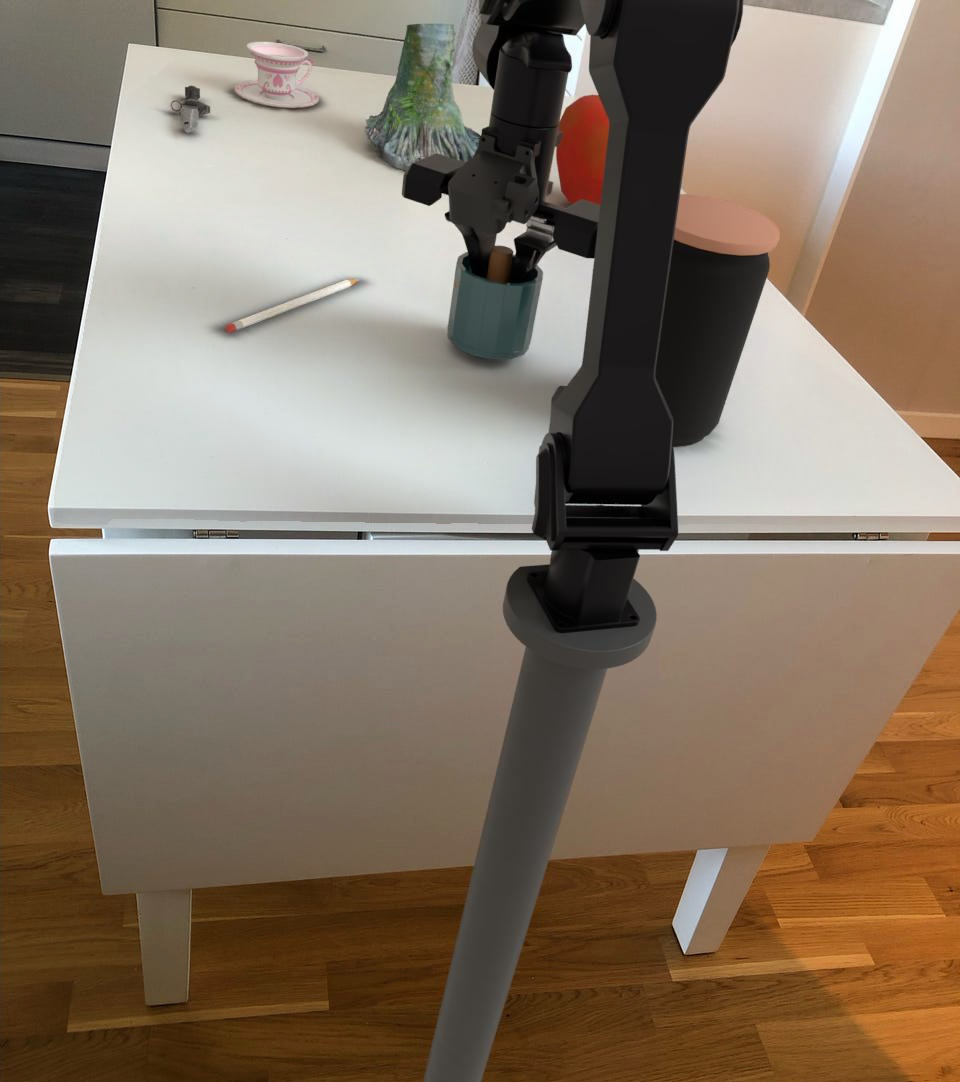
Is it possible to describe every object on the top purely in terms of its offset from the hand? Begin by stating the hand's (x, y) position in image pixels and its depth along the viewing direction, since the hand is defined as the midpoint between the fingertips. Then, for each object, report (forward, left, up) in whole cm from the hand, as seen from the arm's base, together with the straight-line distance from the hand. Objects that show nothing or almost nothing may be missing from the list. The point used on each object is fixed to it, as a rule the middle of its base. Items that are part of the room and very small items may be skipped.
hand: (495, 299), depth 98 cm
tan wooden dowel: (0, 0, -3) cm, 3 cm away
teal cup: (0, 0, -4) cm, 4 cm away
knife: (+66, +20, -6) cm, 69 cm away
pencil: (+10, +16, -6) cm, 20 cm away
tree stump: (+57, -11, -5) cm, 58 cm away
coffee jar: (-13, -12, -5) cm, 18 cm away
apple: (+39, -27, -5) cm, 48 cm away
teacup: (+79, +6, -5) cm, 79 cm away
